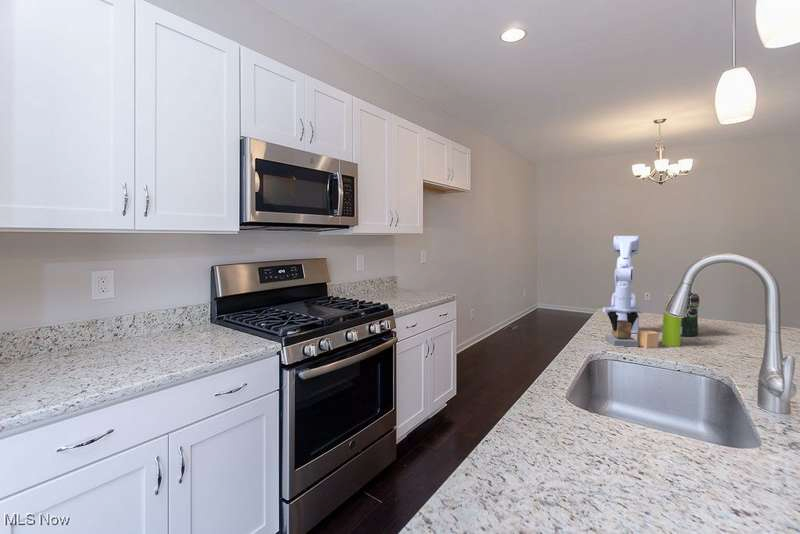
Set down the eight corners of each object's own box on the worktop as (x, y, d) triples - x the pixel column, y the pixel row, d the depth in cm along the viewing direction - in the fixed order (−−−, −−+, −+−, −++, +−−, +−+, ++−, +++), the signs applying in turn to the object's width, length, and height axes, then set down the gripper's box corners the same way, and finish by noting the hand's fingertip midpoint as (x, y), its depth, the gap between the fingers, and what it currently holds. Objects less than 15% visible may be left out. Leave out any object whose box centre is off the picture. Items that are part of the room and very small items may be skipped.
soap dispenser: (681, 343, 156) (683, 295, 155) (678, 347, 151) (681, 297, 150) (663, 340, 160) (666, 293, 159) (660, 344, 155) (663, 295, 154)
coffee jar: (685, 331, 175) (687, 291, 173) (701, 336, 167) (704, 294, 166) (666, 332, 173) (668, 292, 172) (682, 337, 165) (684, 294, 164)
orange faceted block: (648, 344, 156) (648, 329, 156) (657, 347, 151) (658, 332, 151) (637, 344, 155) (637, 330, 155) (646, 348, 150) (647, 333, 150)
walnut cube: (625, 334, 158) (625, 320, 158) (630, 337, 154) (631, 323, 153) (612, 334, 159) (612, 320, 158) (617, 337, 154) (618, 322, 154)
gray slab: (627, 342, 160) (627, 335, 160) (638, 348, 151) (638, 341, 151) (604, 341, 161) (605, 334, 161) (614, 348, 152) (614, 340, 152)
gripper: (608, 298, 152) (607, 332, 153) (647, 299, 150) (645, 333, 151) (601, 295, 159) (600, 328, 160) (638, 296, 157) (637, 328, 158)
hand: (621, 330), depth 156 cm, fingers closed on walnut cube, 5 cm apart
